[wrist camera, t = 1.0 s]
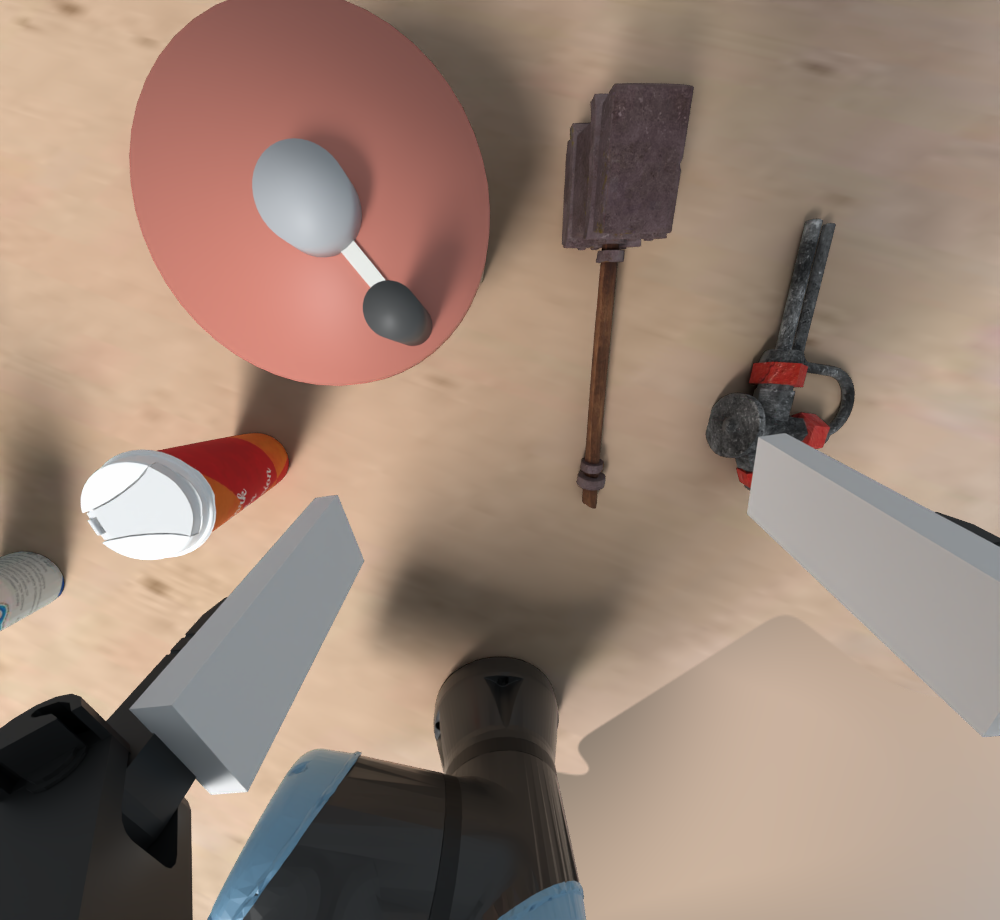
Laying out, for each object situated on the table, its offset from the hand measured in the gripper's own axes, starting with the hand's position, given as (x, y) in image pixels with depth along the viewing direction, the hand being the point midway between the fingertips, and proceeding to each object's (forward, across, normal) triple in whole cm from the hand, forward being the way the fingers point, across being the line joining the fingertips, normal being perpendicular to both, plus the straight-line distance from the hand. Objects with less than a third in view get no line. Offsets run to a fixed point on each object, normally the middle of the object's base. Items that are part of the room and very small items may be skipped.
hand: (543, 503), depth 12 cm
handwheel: (+20, +11, -11) cm, 25 cm away
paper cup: (+23, +27, +5) cm, 36 cm away
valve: (+30, -28, +6) cm, 41 cm away
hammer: (+28, -8, 0) cm, 29 cm away
